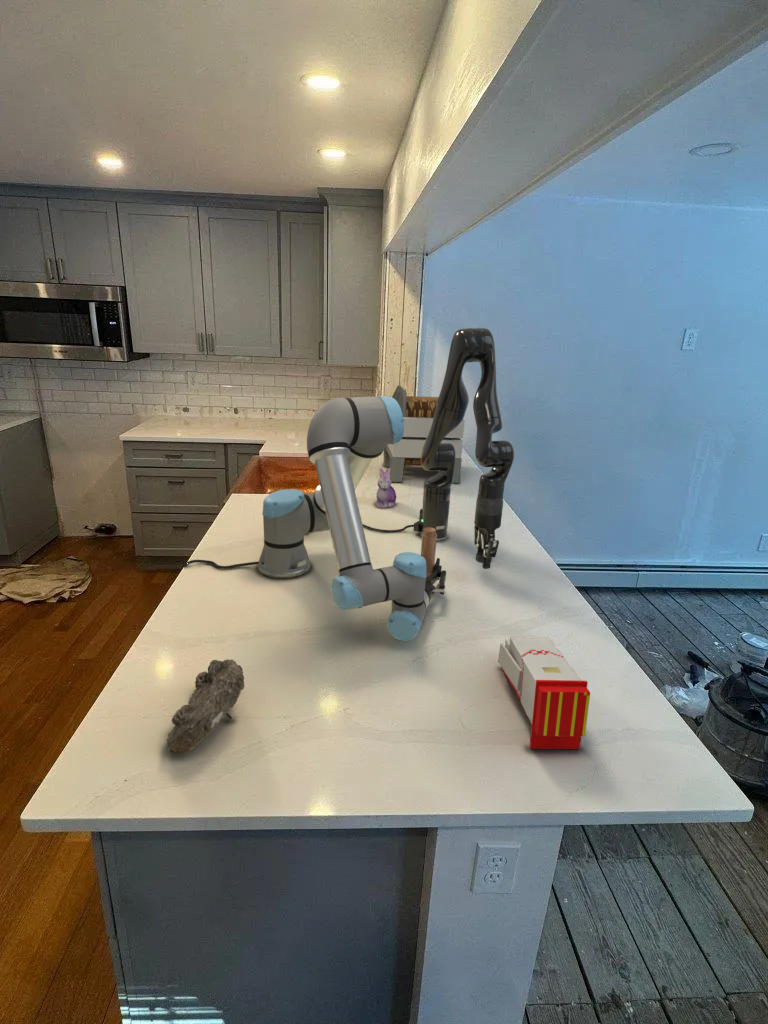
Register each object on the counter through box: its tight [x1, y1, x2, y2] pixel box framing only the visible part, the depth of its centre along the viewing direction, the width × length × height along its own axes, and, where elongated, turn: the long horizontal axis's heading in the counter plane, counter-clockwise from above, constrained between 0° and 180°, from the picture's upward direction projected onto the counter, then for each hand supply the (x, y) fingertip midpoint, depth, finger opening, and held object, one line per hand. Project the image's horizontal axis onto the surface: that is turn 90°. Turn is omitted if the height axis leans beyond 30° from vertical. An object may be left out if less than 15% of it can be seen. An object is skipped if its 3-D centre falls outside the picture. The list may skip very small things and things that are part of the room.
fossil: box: [166, 658, 245, 754], centre depth 106 cm, size 22×10×15 cm
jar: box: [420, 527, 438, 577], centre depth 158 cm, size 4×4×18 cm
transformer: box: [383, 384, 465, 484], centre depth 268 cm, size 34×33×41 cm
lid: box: [475, 552, 493, 564], centre depth 166 cm, size 5×5×2 cm
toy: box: [497, 636, 591, 750], centre depth 115 cm, size 12×13×30 cm
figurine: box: [375, 467, 397, 509], centre depth 226 cm, size 9×10×15 cm
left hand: (429, 561), depth 164 cm, fingers closed on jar, 4 cm apart
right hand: (483, 564), depth 167 cm, fingers closed on lid, 4 cm apart
